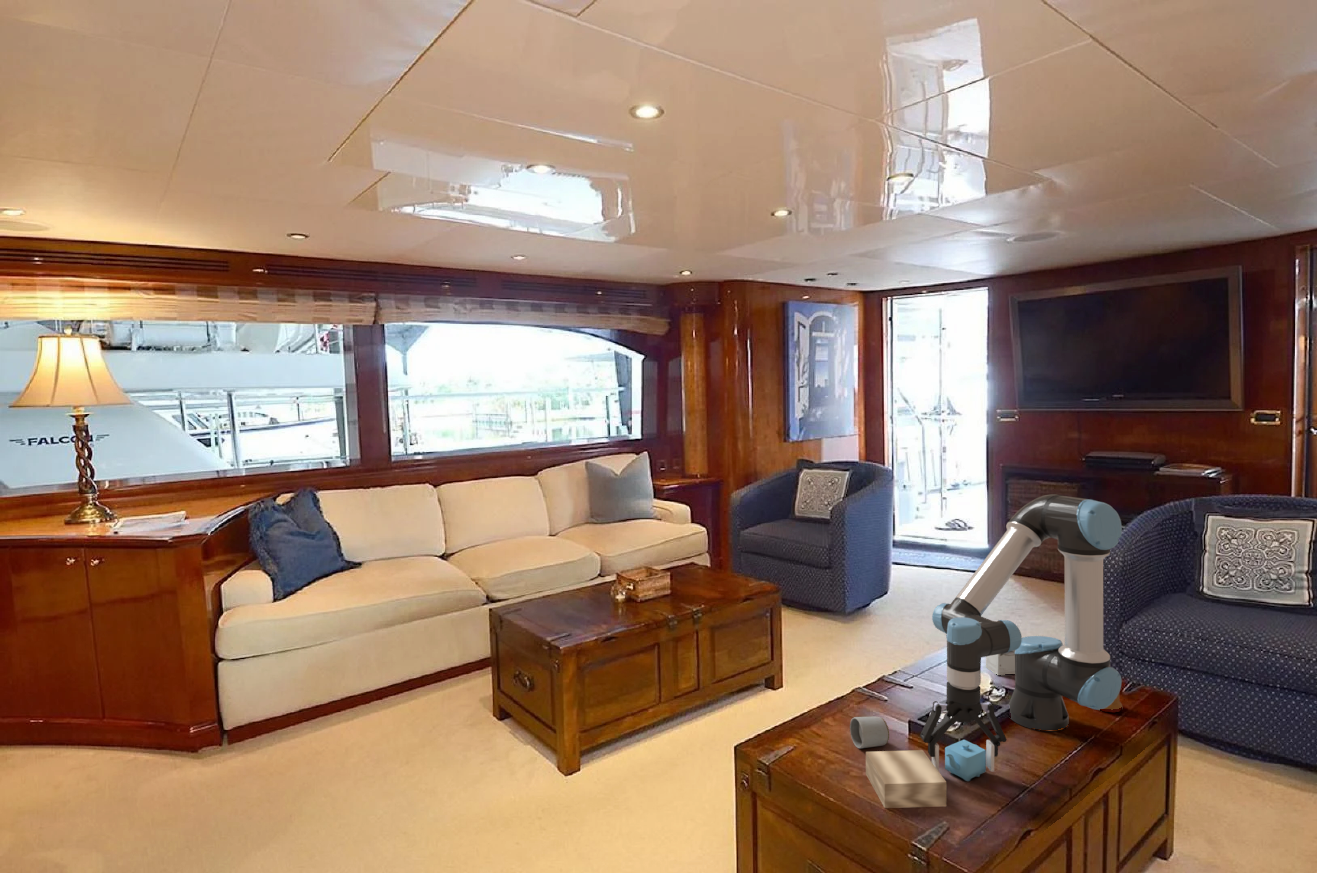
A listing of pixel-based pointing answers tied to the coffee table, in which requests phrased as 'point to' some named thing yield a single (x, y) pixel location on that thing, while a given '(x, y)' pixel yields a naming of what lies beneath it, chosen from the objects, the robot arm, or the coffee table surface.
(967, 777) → the blue notched cube block
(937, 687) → the coffee table surface
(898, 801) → the maple block
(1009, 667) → the supplement box
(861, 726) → the ceramic mug
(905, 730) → the coffee table surface
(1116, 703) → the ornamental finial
